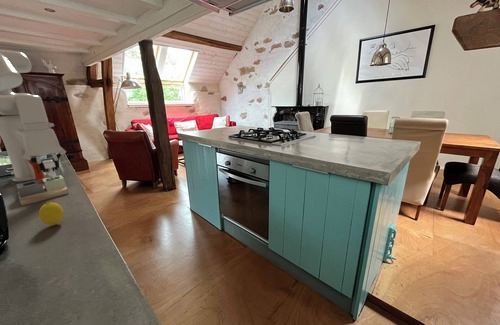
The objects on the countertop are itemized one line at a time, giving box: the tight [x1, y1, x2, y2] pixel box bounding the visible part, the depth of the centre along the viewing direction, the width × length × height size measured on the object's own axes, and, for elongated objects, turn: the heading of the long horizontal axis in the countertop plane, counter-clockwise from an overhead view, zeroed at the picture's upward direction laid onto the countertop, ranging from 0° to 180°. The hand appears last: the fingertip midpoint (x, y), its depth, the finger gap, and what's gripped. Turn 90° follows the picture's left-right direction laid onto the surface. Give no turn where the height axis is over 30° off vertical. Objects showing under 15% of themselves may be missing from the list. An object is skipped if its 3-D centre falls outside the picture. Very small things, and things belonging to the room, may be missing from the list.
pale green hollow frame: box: [42, 174, 67, 191], centre depth 92 cm, size 6×6×4 cm
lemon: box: [38, 201, 65, 226], centre depth 67 cm, size 6×6×8 cm
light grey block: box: [41, 159, 57, 181], centre depth 91 cm, size 7×3×10 cm, turn 49°
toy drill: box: [28, 156, 48, 185], centre depth 100 cm, size 5×19×15 cm, turn 46°
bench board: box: [17, 185, 70, 206], centre depth 90 cm, size 14×14×2 cm
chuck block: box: [16, 179, 45, 198], centre depth 87 cm, size 7×7×4 cm
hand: (50, 170), depth 90 cm, fingers closed on light grey block, 3 cm apart
